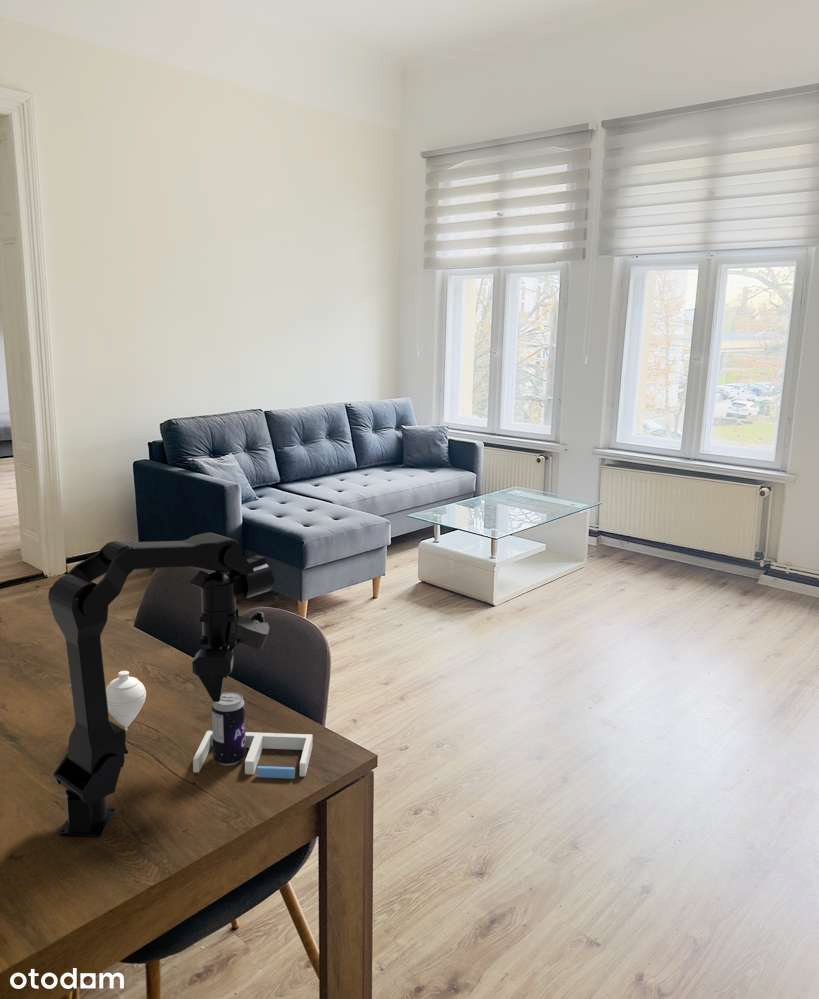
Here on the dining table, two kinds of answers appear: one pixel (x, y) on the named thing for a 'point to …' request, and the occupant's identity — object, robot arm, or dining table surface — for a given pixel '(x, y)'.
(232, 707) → the beverage can
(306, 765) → the white open frame
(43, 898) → the dining table surface
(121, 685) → the spinning top
